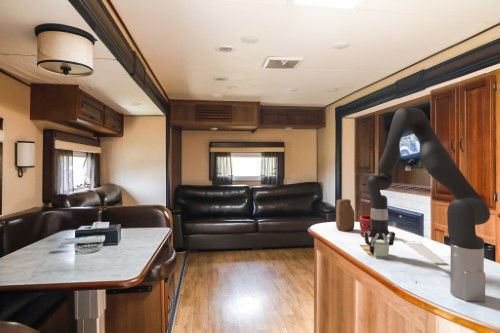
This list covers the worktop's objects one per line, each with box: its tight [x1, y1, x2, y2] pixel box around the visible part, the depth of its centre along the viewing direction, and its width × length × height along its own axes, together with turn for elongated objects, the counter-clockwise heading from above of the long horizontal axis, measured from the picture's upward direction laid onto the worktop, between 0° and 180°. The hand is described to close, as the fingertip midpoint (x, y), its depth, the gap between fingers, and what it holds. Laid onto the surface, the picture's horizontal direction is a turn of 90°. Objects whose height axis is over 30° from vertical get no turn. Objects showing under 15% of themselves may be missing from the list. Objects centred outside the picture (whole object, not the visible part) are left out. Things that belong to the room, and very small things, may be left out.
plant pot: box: [359, 215, 372, 238], centre depth 176 cm, size 13×13×12 cm
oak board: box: [359, 244, 392, 259], centre depth 147 cm, size 20×9×2 cm, turn 175°
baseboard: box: [403, 240, 448, 266], centre depth 146 cm, size 30×3×10 cm
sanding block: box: [369, 239, 389, 259], centre depth 140 cm, size 8×6×6 cm
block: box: [335, 198, 356, 232], centre depth 194 cm, size 11×8×20 cm
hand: (379, 253), depth 140 cm, fingers closed on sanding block, 5 cm apart
